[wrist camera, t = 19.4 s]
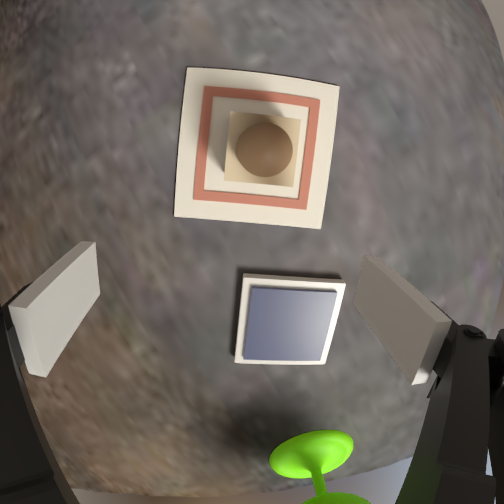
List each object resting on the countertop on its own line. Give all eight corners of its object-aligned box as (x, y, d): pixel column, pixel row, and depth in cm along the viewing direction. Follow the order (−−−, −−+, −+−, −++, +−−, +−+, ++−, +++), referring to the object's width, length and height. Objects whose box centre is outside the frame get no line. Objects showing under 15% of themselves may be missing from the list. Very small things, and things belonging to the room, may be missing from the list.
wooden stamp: (224, 173, 33) (223, 183, 25) (230, 116, 31) (230, 109, 23) (282, 179, 33) (297, 190, 26) (288, 122, 31) (306, 118, 24)
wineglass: (331, 417, 47) (361, 507, 30) (365, 450, 52) (393, 522, 35) (251, 456, 49) (260, 542, 32) (296, 483, 54) (310, 554, 37)
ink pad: (234, 357, 41) (234, 365, 39) (243, 273, 37) (243, 279, 35) (322, 358, 42) (325, 366, 40) (342, 279, 38) (347, 285, 37)
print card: (174, 215, 34) (173, 217, 34) (187, 67, 29) (187, 67, 29) (319, 228, 36) (321, 229, 35) (338, 86, 31) (340, 86, 30)
